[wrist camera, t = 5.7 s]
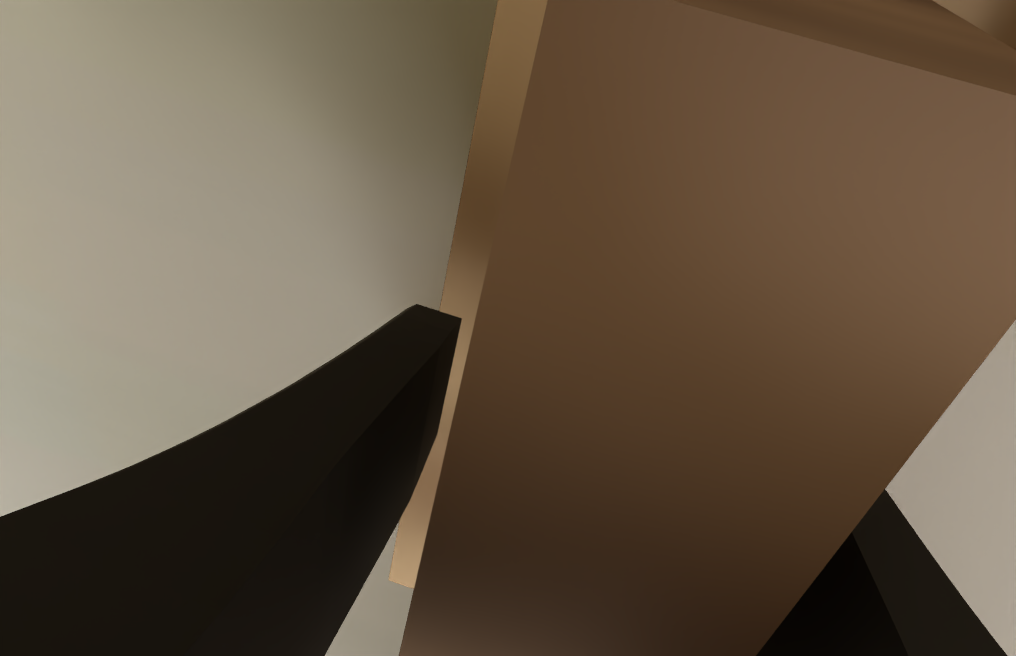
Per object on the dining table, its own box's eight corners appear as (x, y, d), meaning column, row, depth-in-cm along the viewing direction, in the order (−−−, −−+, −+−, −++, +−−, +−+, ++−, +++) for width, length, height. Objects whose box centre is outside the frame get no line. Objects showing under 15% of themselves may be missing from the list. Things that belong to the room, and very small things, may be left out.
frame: (628, 521, 14) (587, 874, 9) (481, 472, 14) (363, 792, 9) (890, -26, 8) (1156, 134, 3) (637, -93, 8) (545, -35, 4)
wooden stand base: (676, 622, 18) (668, 821, 14) (409, 531, 18) (334, 701, 14) (1280, -356, 7) (1863, -579, 4) (621, -505, 8) (546, -836, 4)
